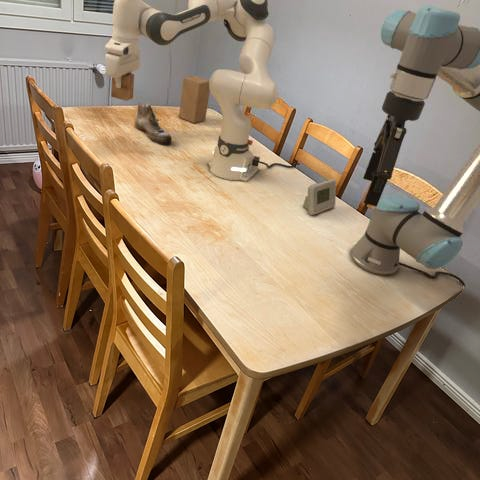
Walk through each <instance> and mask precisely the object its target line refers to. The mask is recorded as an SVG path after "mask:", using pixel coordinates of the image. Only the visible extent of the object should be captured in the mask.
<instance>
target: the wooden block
mask: <svg viewBox="0 0 480 480" xmlns="http://www.w3.org/2000/svg"><path fill="white" fill-rule="evenodd" d="M182 78H183V79H182V88H181V95H180V105H179V113H178V118H180V119H183V120H185V121H187V122H190V123H192V124H197V123H201V122H203V121H206V118H207V111H208V104H209V100H210V99H209V98H210V93H211V92H210V88H209V81H210V79H207V78H203V77H200V76H198V75H191V76H185V77H182Z"/></svg>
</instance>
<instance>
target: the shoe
mask: <svg viewBox="0 0 480 480" xmlns="http://www.w3.org/2000/svg"><path fill="white" fill-rule="evenodd" d="M155 113H156V114H158V111H157V110H153V108H152V105H151V104H148V103H146V102H144V104H141V103H140V102H138V106H137V108H136V112H135V117H134V127H135V128H137V129H139V130H140V131H142V132H144V133H146V134H147V137H148V138H149V140H151V141H152V142H155V143H157V144H160V145H171V143H172V136H171V134H170V133H169V132H168V131H166V130H165V129H163V128H162V127H161V126H160V123H159V119H158V118H156V115H155Z"/></svg>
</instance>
